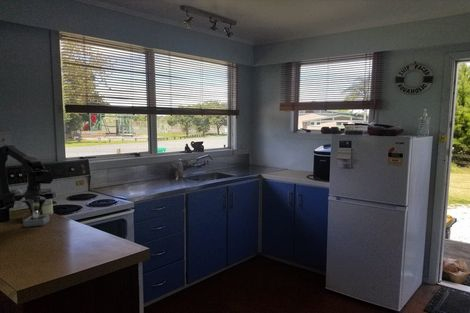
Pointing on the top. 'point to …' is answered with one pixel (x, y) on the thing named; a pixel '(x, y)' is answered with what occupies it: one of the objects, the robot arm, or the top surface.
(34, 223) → the pin tray
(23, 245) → the top surface
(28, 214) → the block
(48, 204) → the coffee can
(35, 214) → the pin
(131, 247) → the top surface
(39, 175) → the robot arm
